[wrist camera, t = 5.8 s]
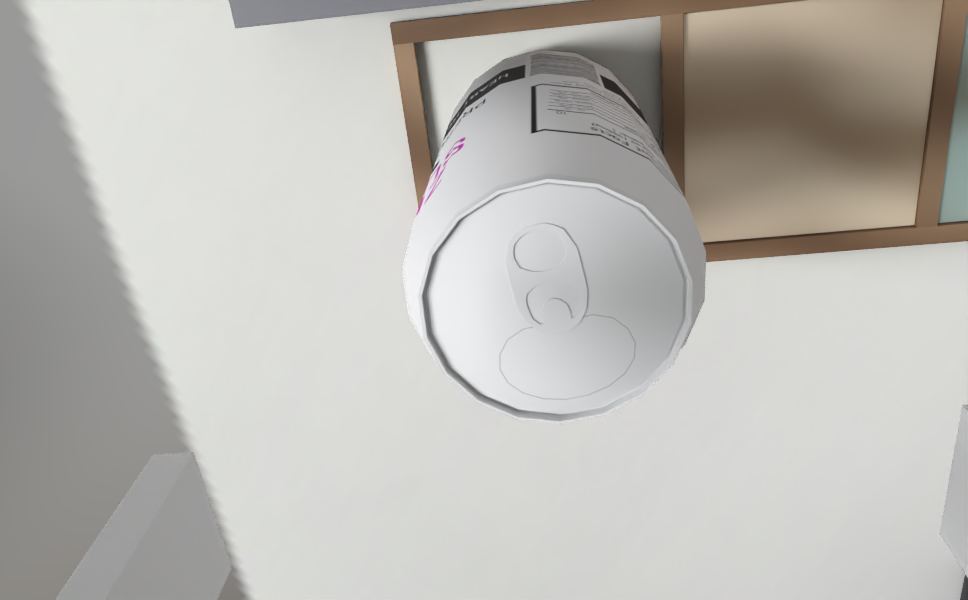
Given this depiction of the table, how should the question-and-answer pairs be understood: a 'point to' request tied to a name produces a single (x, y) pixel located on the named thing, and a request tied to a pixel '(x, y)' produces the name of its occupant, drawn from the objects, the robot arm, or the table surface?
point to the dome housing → (316, 9)
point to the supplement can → (553, 245)
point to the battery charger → (965, 589)
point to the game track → (782, 115)
